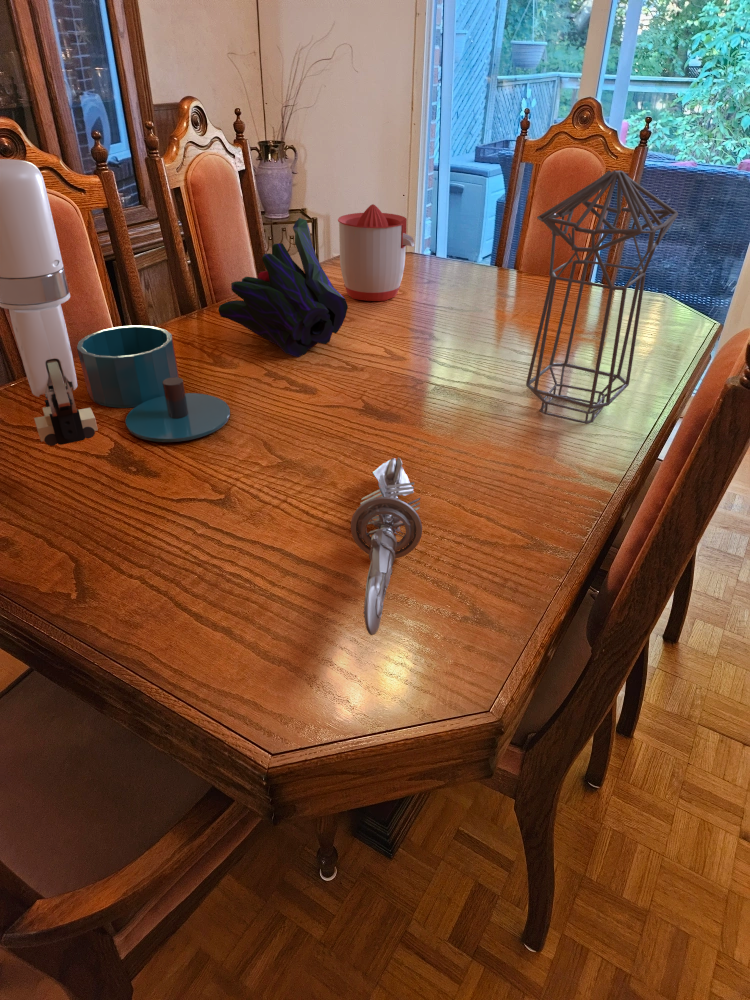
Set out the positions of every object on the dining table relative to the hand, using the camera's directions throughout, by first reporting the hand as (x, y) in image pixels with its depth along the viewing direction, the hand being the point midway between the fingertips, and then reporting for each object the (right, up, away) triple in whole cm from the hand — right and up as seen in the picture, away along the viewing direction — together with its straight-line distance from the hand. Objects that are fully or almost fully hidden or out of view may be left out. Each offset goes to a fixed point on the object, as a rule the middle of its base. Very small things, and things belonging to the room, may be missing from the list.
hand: (68, 432), depth 83 cm
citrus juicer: (+39, +40, +75) cm, 93 cm away
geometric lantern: (+70, +6, +24) cm, 74 cm away
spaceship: (+40, -15, -8) cm, 43 cm away
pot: (-2, +10, +29) cm, 31 cm away
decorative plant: (+20, +24, +51) cm, 60 cm away
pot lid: (+8, +4, +19) cm, 21 cm away
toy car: (0, 0, 0) cm, 0 cm away
